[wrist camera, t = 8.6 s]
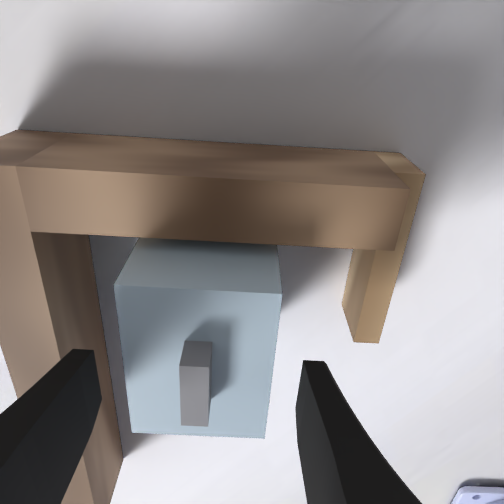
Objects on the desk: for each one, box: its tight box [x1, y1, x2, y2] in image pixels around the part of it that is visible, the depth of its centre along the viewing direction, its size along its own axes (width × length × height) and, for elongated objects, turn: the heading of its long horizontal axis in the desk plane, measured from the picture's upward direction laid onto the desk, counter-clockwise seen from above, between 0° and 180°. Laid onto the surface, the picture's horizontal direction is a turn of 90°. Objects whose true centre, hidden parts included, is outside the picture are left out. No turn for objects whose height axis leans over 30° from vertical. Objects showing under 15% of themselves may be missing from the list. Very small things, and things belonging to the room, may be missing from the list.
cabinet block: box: [114, 237, 282, 439], centre depth 14 cm, size 4×6×7 cm
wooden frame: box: [0, 130, 426, 504], centre depth 17 cm, size 14×19×4 cm
